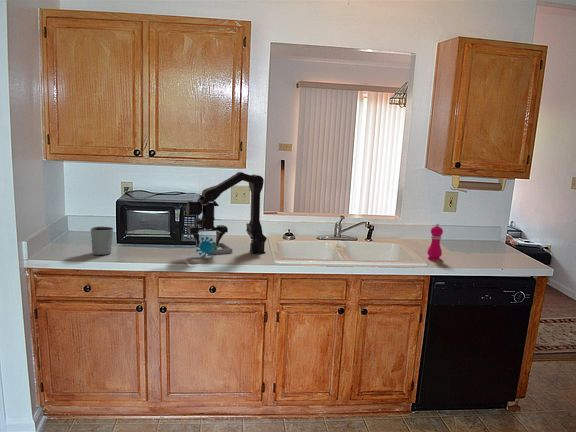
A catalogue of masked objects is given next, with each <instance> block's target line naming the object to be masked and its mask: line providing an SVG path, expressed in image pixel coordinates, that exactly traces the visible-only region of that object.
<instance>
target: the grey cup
mask: <svg viewBox="0 0 576 432" xmlns="http://www.w3.org/2000/svg"><path fill="white" fill-rule="evenodd" d="M113 235H114V227H110V226H94V227H91V228H90V236H91V245H92V246H91V252H92V254H93V255H97V256H98V255H99V256H102V255H104V256H105V255H110V254H111V253H112V249H113V248H112V246H113Z"/></svg>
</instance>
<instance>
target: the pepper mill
mask: <svg viewBox="0 0 576 432" xmlns="http://www.w3.org/2000/svg"><path fill="white" fill-rule="evenodd" d="M443 233H444V230H443V228H442V227H441V226H440V223H436V224H435V226H433V227H432V228H431V229H430V234H431V236H430V238H431V242H430V245H429V247H428V249H427V256H428V257H427V259H428V260H431V261H440V260H441V258H440V257H442V255H443V252H442V247H441V239H442V235H443Z"/></svg>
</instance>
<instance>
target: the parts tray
mask: <svg viewBox="0 0 576 432" xmlns="http://www.w3.org/2000/svg"><path fill="white" fill-rule="evenodd" d="M211 245H212V246H215V247H216V242H215V245H214V244H211ZM217 246H218V249H217V250H213V251H214V253H213V254H212V253H211V252H212V251H211V250H210V255H211V256H212V255H225V254H233V248H232V247H230V246H229V245H227V244H226V243H225V242H219V243H218V245H217ZM219 247H223V248H220V249H219Z"/></svg>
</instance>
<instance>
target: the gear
mask: <svg viewBox="0 0 576 432" xmlns="http://www.w3.org/2000/svg"><path fill="white" fill-rule="evenodd" d="M200 239H201V241H200ZM200 239H199V247H197V245H196V244H195V248H196V249H195V251H196V252H197V253H198V255H199V256H202V257H203V258H206V257H207V256H208V257H210V256H211V255H212V254H213V253H214V251H213V250H217V249H219V247H218V246H216V247H215V246H212V245H211V244H214V245H215V243H216V241H213V238H212V237H211V238H210V239H209V237H208V236H206V237H205V238H204V237H200ZM198 248H199V249H198ZM210 250H211V251H212V252H211V253H212V254H211V253H210ZM206 255H207V256H206Z"/></svg>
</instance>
